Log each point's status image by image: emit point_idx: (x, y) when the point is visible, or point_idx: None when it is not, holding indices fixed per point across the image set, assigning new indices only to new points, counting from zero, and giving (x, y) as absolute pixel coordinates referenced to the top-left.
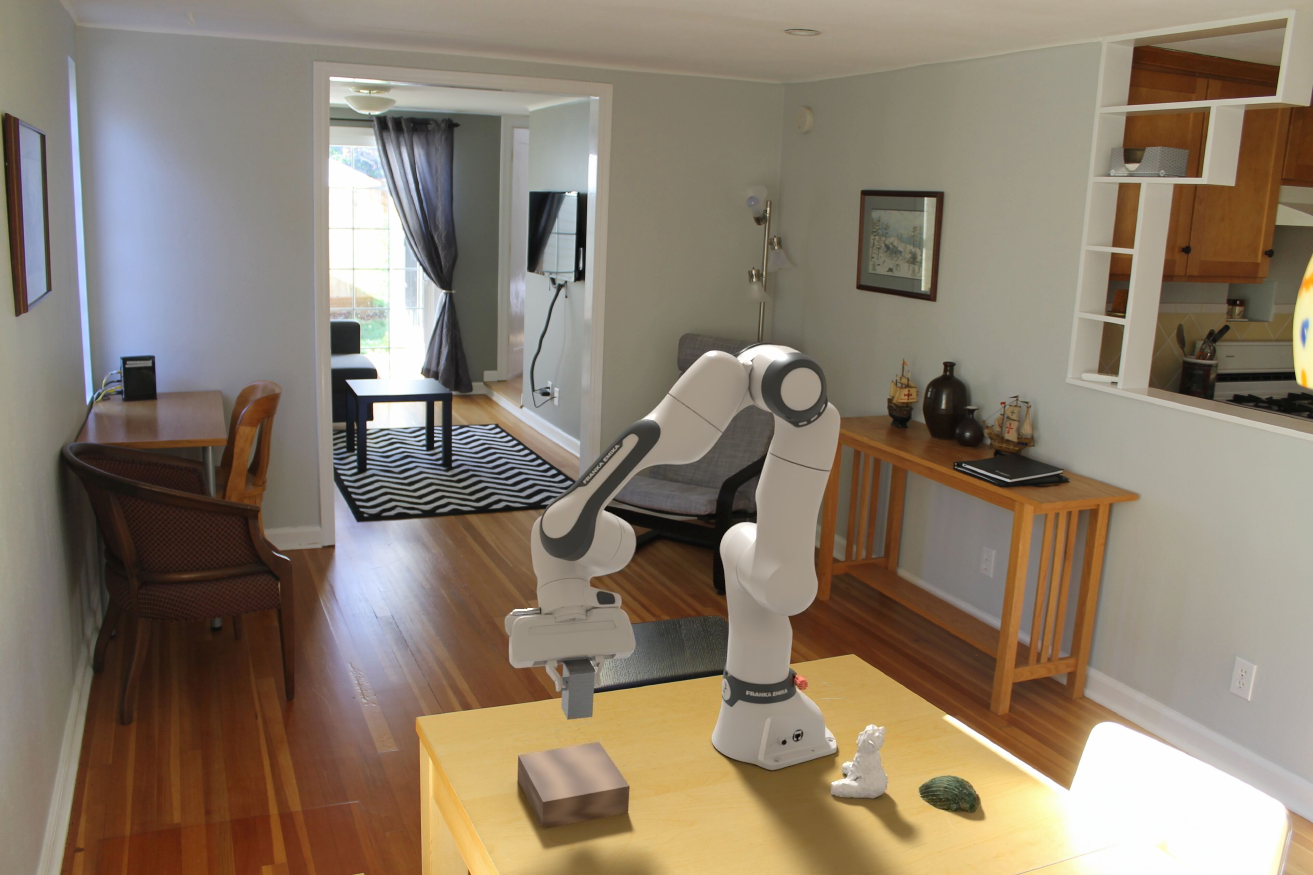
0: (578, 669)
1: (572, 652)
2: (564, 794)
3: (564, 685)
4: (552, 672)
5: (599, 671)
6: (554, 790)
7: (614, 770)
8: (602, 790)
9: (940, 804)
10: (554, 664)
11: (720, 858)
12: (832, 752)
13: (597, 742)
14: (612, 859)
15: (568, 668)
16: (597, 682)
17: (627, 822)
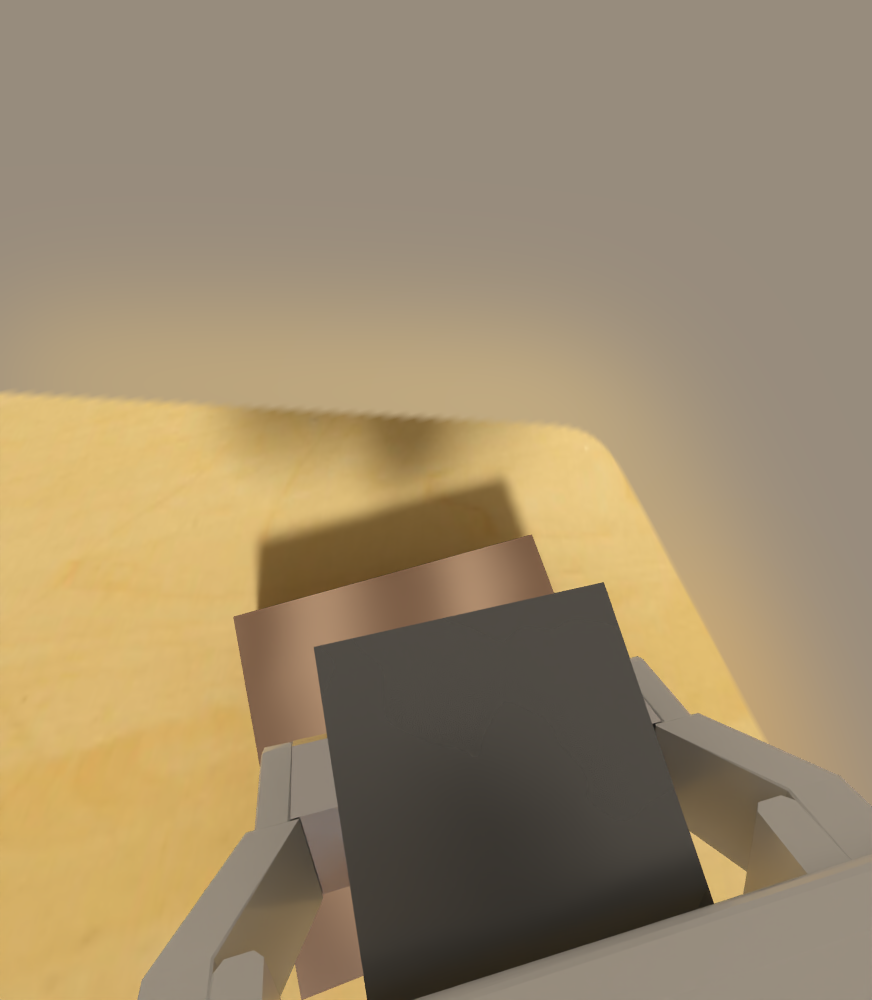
0: (508, 657)
1: (648, 985)
2: (464, 572)
3: None
4: (762, 742)
5: (250, 843)
6: (498, 597)
7: (271, 726)
8: (335, 591)
9: None
10: (799, 819)
11: (55, 421)
12: None
13: (310, 990)
14: (335, 432)
15: (623, 680)
16: (296, 742)
17: (268, 582)
